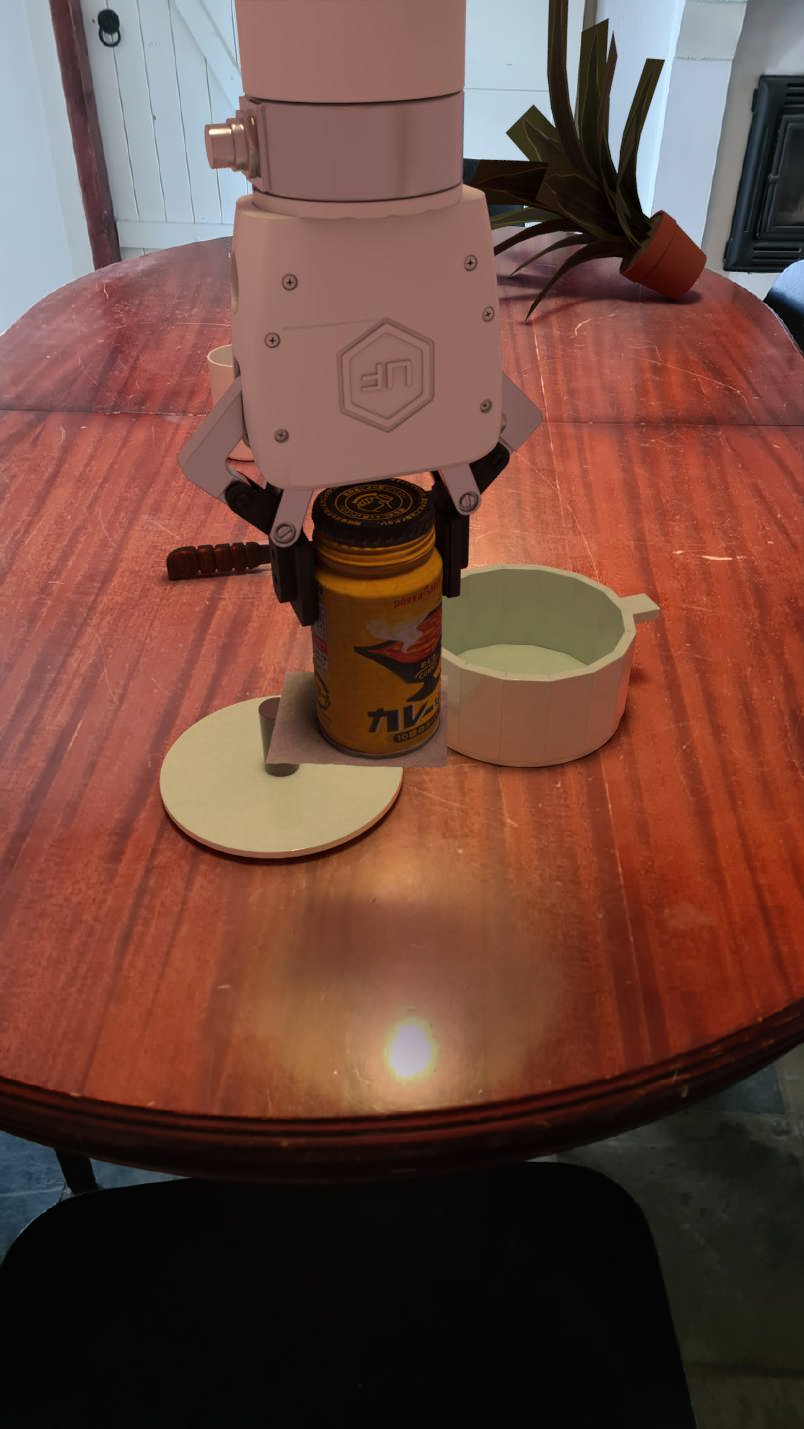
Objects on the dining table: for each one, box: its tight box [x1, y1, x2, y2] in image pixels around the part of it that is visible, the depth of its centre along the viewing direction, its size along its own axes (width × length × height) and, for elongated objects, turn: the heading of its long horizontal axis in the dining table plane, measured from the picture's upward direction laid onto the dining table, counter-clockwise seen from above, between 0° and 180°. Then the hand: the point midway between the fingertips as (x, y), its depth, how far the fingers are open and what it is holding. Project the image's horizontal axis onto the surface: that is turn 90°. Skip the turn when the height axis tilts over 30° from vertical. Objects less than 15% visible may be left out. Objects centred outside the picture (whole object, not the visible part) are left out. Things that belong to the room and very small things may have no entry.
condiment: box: [266, 477, 448, 769], centre depth 47 cm, size 7×8×12 cm
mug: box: [206, 343, 254, 461], centre depth 116 cm, size 12×8×10 cm, turn 178°
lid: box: [158, 694, 404, 859], centre depth 70 cm, size 17×17×6 cm
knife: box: [165, 540, 313, 581], centre depth 94 cm, size 17×1×3 cm, turn 99°
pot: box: [441, 563, 661, 768], centre depth 76 cm, size 16×21×8 cm
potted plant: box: [468, 0, 708, 324], centre depth 152 cm, size 45×39×43 cm
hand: (372, 593), depth 47 cm, fingers closed on condiment, 6 cm apart
